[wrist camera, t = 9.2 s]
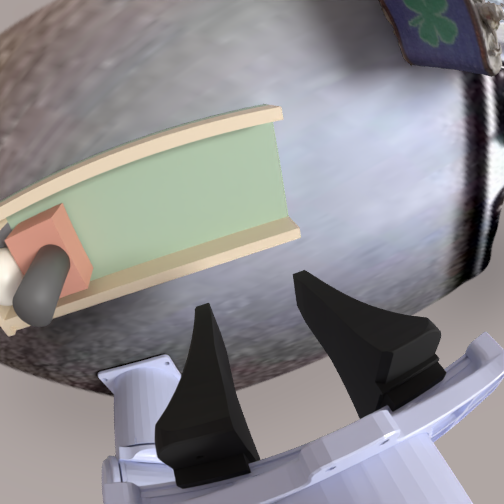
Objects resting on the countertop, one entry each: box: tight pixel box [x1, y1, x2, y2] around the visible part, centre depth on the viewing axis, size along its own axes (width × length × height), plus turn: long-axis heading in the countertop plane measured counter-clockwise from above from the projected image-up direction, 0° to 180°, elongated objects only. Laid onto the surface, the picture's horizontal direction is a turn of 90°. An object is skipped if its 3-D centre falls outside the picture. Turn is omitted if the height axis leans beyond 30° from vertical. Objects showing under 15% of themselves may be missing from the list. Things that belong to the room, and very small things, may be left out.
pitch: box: [0, 104, 301, 337], centre depth 18 cm, size 9×24×4 cm, turn 101°
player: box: [4, 203, 93, 327], centre depth 15 cm, size 5×4×7 cm
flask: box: [379, 0, 504, 76], centre depth 12 cm, size 9×3×11 cm, turn 30°
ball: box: [0, 248, 24, 306], centre depth 16 cm, size 4×4×4 cm
